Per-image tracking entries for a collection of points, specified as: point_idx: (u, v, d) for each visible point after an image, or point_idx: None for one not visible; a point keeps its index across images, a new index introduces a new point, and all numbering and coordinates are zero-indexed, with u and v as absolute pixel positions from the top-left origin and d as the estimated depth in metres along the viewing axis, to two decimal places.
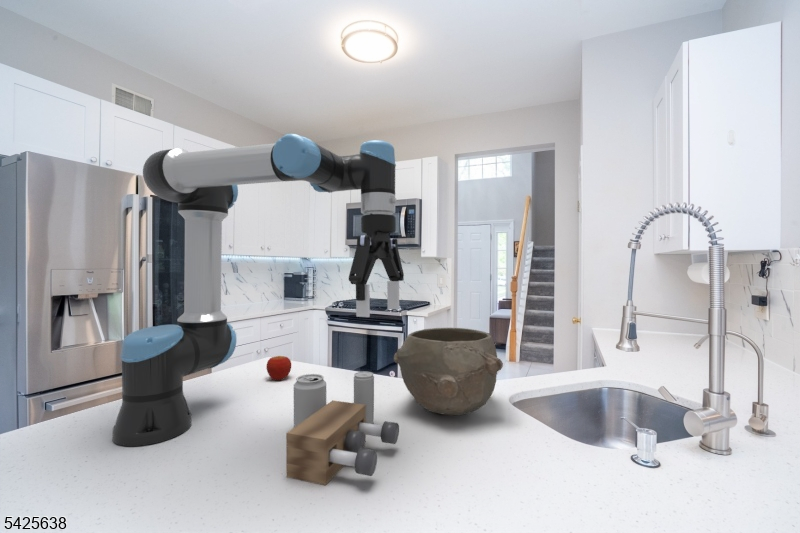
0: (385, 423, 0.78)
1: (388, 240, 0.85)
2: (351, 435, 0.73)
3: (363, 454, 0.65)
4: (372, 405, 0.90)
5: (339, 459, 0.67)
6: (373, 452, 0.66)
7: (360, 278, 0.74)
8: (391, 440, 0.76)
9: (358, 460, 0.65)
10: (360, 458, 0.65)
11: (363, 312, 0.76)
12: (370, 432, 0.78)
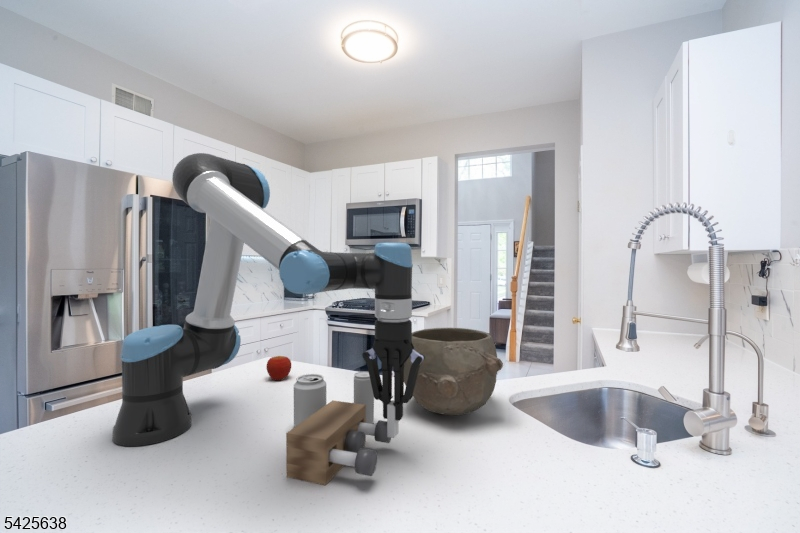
0: (379, 422, 0.78)
1: (404, 346, 0.75)
2: (351, 435, 0.73)
3: (363, 454, 0.65)
4: (372, 405, 0.90)
5: (339, 459, 0.67)
6: (373, 452, 0.66)
7: (375, 397, 0.77)
8: (385, 439, 0.76)
9: (358, 460, 0.65)
10: (360, 458, 0.65)
11: None
12: (364, 431, 0.78)
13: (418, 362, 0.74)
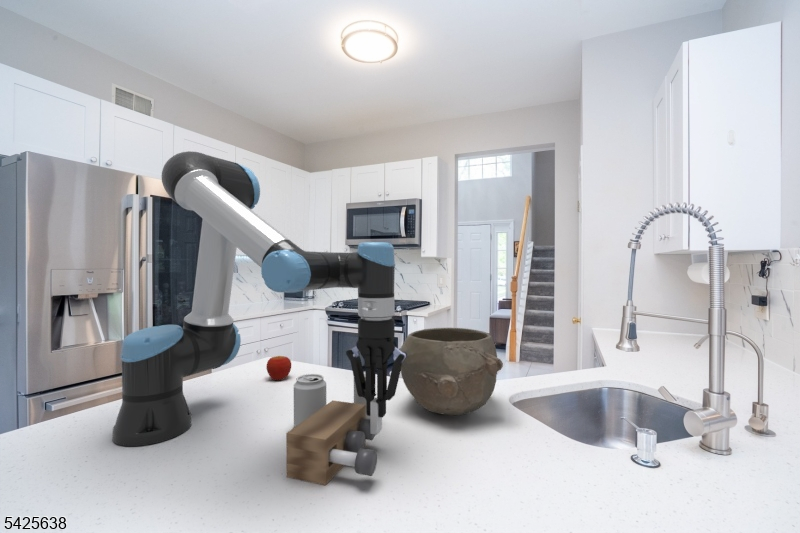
0: (362, 420, 0.79)
1: (387, 344, 0.77)
2: (351, 435, 0.73)
3: (363, 454, 0.65)
4: None
5: (339, 459, 0.67)
6: (373, 452, 0.66)
7: (359, 394, 0.78)
8: (368, 436, 0.77)
9: (358, 460, 0.65)
10: (360, 458, 0.65)
11: None
12: None
13: (400, 360, 0.76)
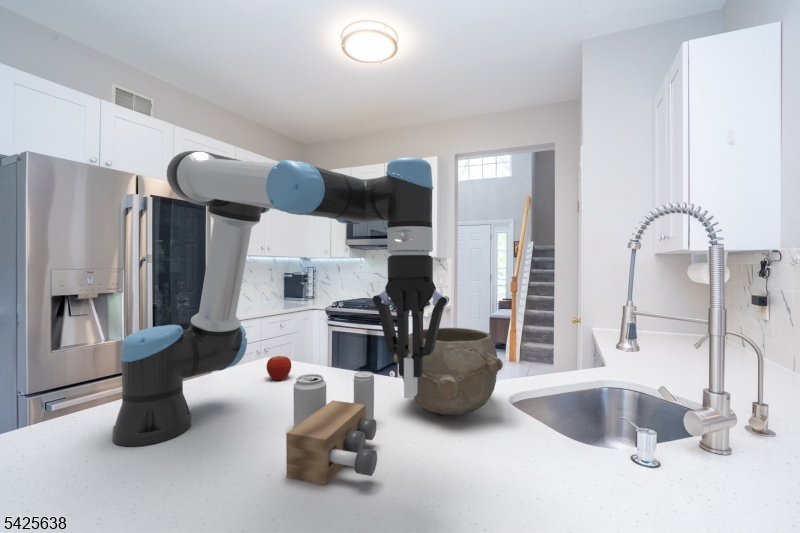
0: (362, 420, 0.79)
1: (425, 285, 0.61)
2: (351, 435, 0.73)
3: (363, 454, 0.65)
4: (372, 405, 0.90)
5: (339, 459, 0.67)
6: (373, 452, 0.66)
7: (389, 349, 0.63)
8: (368, 436, 0.77)
9: (358, 460, 0.65)
10: (360, 458, 0.65)
11: None
12: None
13: (442, 304, 0.60)
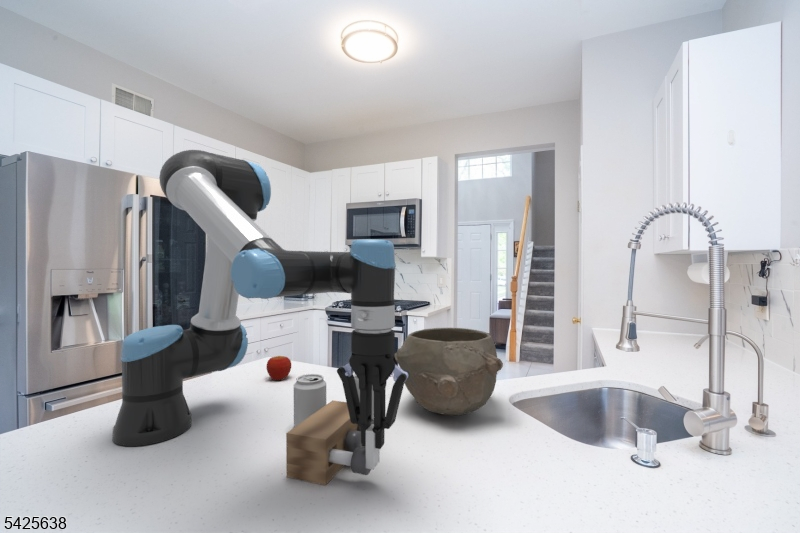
0: None
1: (386, 362, 0.64)
2: (351, 435, 0.73)
3: (359, 453, 0.66)
4: (372, 405, 0.90)
5: (335, 458, 0.67)
6: None
7: (352, 421, 0.66)
8: None
9: (354, 459, 0.65)
10: (356, 457, 0.65)
11: None
12: None
13: (401, 381, 0.63)
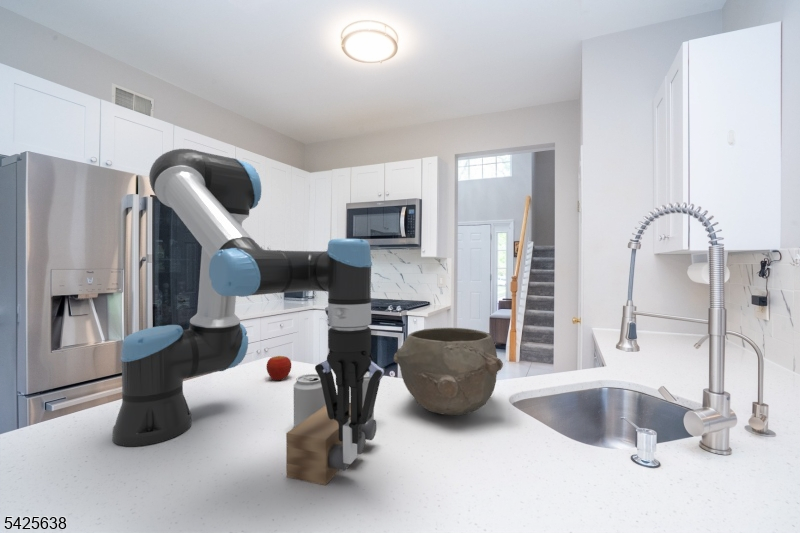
0: None
1: (362, 358, 0.65)
2: None
3: (337, 449, 0.67)
4: None
5: None
6: None
7: (330, 416, 0.67)
8: (368, 436, 0.77)
9: (332, 455, 0.67)
10: (334, 453, 0.67)
11: None
12: None
13: (377, 377, 0.64)
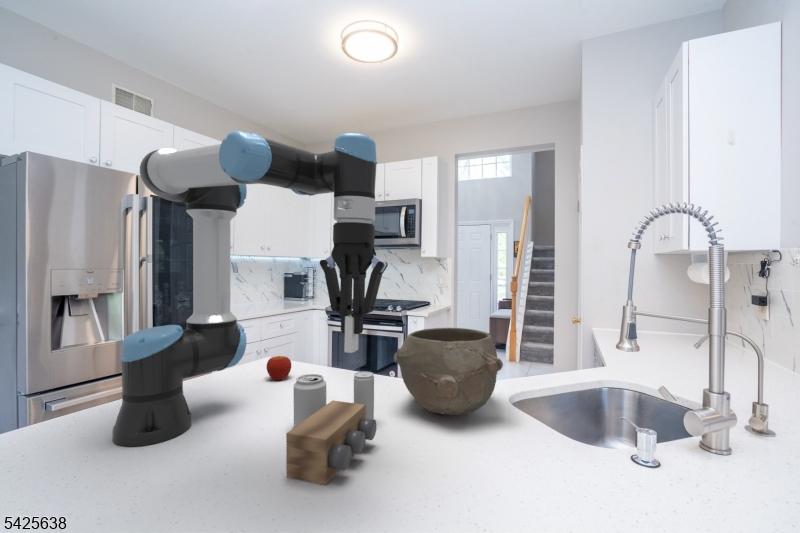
0: (362, 420, 0.79)
1: (365, 251, 0.68)
2: (351, 435, 0.73)
3: (337, 449, 0.67)
4: (372, 405, 0.90)
5: None
6: (347, 447, 0.68)
7: (333, 308, 0.70)
8: (368, 436, 0.77)
9: (332, 455, 0.67)
10: (334, 453, 0.67)
11: None
12: None
13: (379, 267, 0.67)
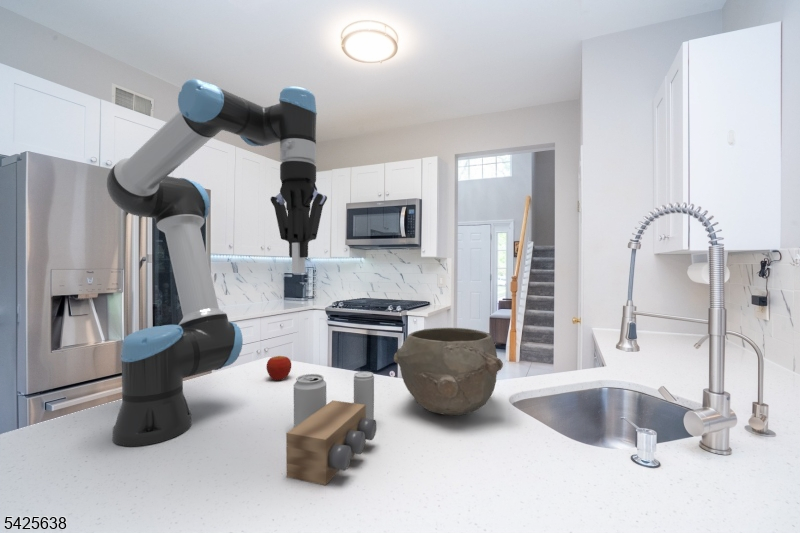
0: (362, 420, 0.79)
1: (307, 186, 0.80)
2: (351, 435, 0.73)
3: (337, 449, 0.67)
4: (372, 405, 0.90)
5: None
6: (347, 447, 0.68)
7: (282, 237, 0.82)
8: (368, 436, 0.77)
9: (332, 455, 0.67)
10: (334, 453, 0.67)
11: None
12: None
13: (318, 198, 0.79)
